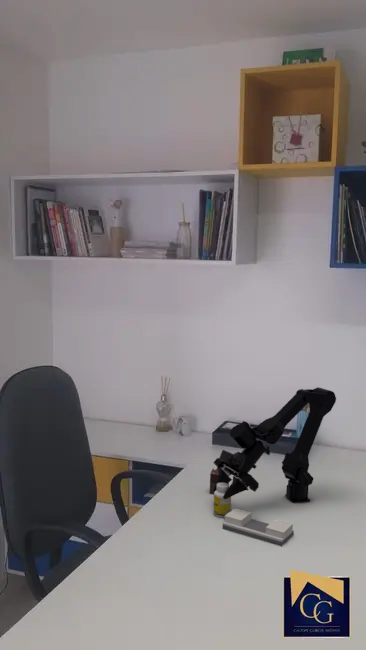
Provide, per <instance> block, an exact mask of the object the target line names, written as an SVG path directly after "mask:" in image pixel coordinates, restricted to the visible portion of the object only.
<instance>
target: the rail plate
mask: <svg viewBox="0 0 366 650" xmlns="http://www.w3.org/2000/svg"><path fill="white" fill-rule="evenodd" d="M293 527H294V523H291V522H287V521H284V520H280V519H278V518H277V519H276V518H275V519H274V520H273V521H271V522H270V523H268V522H265V521H260V520H256V519H253V518H252V511H251V512H250V511H247V510H243V509H240V508H237V507H235V508H233V509H231V512H229V513H228V514H226V515H225V517H224V520H223V522H222V529H223V530H226V531H229V532H233V533H236V534H239V535H242V536H246V537H248V538H249V537H250V538H253V539H255V540H260V541H263V542H266V543H270V544H273V545H276V546H280V547H283V545H284V544H286V542H288V540H290V539H291V538H292V537H293V536H294V533H295V532H294V531H295V530H293V529H294V528H293Z"/></svg>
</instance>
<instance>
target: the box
mask: <svg viewBox="0 0 366 650" xmlns="http://www.w3.org/2000/svg"><path fill="white" fill-rule="evenodd" d="M218 475H219V472H218V469H217V468H216V467H215V468H212V469H211V472H210V474H209V494H210V495H214V491H213V490H214V487H215V484H216V481H217V479H218ZM228 484H229V485H230V482H229V483H228Z"/></svg>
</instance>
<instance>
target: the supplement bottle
mask: <svg viewBox="0 0 366 650" xmlns="http://www.w3.org/2000/svg"><path fill="white" fill-rule="evenodd" d="M229 487H230V483H229V484H227V483H218V484H217V487H216V488H217V490H216V491H215V492H214V494H213V515H214V516H215V517H217V518H224V519H225V515H226V514H228V513H229V512H231V511H232V509H231V507H232V496H231V497H229V498H227V499H224V498H223V496H224V494H225V493H226V491H227V490H228V488H229Z"/></svg>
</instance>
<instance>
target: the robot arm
mask: <svg viewBox="0 0 366 650" xmlns="http://www.w3.org/2000/svg"><path fill="white" fill-rule="evenodd" d="M336 403H337V396H336V393H335V392H334V391H332V390H329V389H325V388H323V387H315V388H313V389H308V388H307V389H303V388H301V389H298V390H297V391H296V392H295V394H294V395H293V396H292V397H291V399H289V401H287V403H285V405H283V407H282V408H280V409H279V411H277V412H276V414H275V415H273V416H272V417H269V418H266V419H264V420H263V421H262V422H260V423H258V425H257V426H254V427H251V425H250V424H249V423H248V421H244V420H243V421H242V422H241V423H237V424H236V425H235V426H233V427H232V428H231V429H230V432H229V436H230V437H231V438H232V439H233V441H234V442H235V443H236V444H237V445H238V446H239V447H240V448H242V449H243V450H242V451H241V452H240V451H237V452H234V453H232V452H230V451H227V450H225V449H222V451H221V453H220V455H219V457H216V458H215V460H214V461H213V465H215V466H216V467H217V468H216V469H218V472H219V475H218V479H217V481H216V484H215V487H214V490H213V491H214V492H215V491H216V490H217V488H216V487H217V484H218V483H227V484H228V483H229V488H228V490H227V491H226V493H225V494H224V496H223V498H224V499H227V498H229V497H231V498H232V497H233V496H235V495H237V494H240V493H242V492H244V491H249V490H251V491H252V492H256V491H257V490H258V489H259V482H258V481H257V480H256V479H255V477H254V476H252V474H250V472H251V470H252V469H253V470H256V468H257V465H256V464H257V463H258V462H259V460H260V458H261V457H262V456H263V454H265V455H268V456H270V455H271V451H270V446H269V445H275V444H277V443H278V441H279V440H280V439H281V437H282V436H283V435H284V431H285V428H286V427H287V426H288V424H289V423H290V422H291V421H292V420H293V419H295V418H296V416H297V415H299V413H300V412H301V411H302V410H303V409H304V408H305V407H306V406H307V405H308V406H309V412H308V415H307V417H306V419H305V422H304V424H303V427H302V430H301V432H300V435H299V437H298V440H297V443H296V444H295V447H294V449H293V450H292V451H291V452H290V453H289V452H286V453H285V455H284V458H283V460H282V462H281V470H282V472H283V474H284V478H285V479H287V485H286V493H285V496H284V497H286V498H287V499H288V500H289V501H291V502H292V503H295V504H297V503H306V502H311V499H310V498H309V486H310V485H312V484H313V481H314V477H313V476H312V474H311V473H310V472H308V471H309V467H310V463H309V462H310V461H309V455H310V452H311V449H312V447H313V444H314V442H315V440H316V436H317V434H318V431H319V429H320V426H321V424H322V422H323V419H324V417H325V416H326V415H328V413H330V412H331V411H332V409H333V407H334V406H335V404H336ZM263 442H264V443H267V444H269V445H267V444H264V443H263ZM230 476H232V478H231V477H230ZM231 481H232V482H231ZM230 482H231V484H230Z"/></svg>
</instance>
